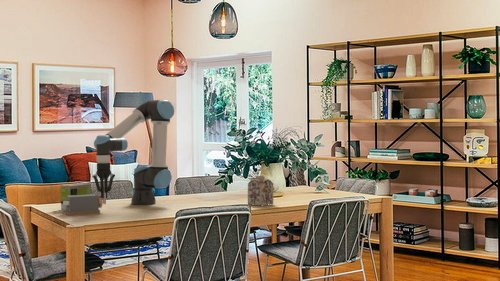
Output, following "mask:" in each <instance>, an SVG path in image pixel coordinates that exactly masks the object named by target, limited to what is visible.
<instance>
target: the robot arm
mask: <svg viewBox="0 0 500 281" xmlns="http://www.w3.org/2000/svg"><path fill="white" fill-rule="evenodd" d="M174 115H175V107H174V105H173V103H172V102H171V101H169V100H166V99H152V100H151V99H150V100H147V101H145V102H143V103H141V104H140V105H139V106H137V107H135V108H134V110H132V113H131V114H130V115H128V116H127V117H126V118H125V119H123V120H122V121H121V122H119V124H117V125H116V126H115V127H113V128H112V129H111V130H109V131H108V132H107V133H106V134H104V135H103V134H102V135H97V136H96V137H95V140H93V146H94V149H96V172H95V174H93V175H92V178H93V180H94V183H95V186H96V187H95V188H96V189H97V192H99V193H100V195H101V196H102V201H103V204H102V205H106V204H107V199H108V193H109V192H111V190H112V187H113V181H114V178H115V177H116V174H115V173H114V174H113V173H112V171H111V163H110V162H111V152H123V151H127V149H128V145H129V144H128V140H127V138H125V136H126V135H127V134H128V133H130V132H131V131H132V130H133V129H135V128H136V127H137V126H138V125H139V124H143V123H144V122H146V121H148V120H150V123H151V124H152V125H153V126H152V144H151V145H152V146H151V149H152V151H151V163H150V165H148V166H139V167H135V168H134V170H133V194H132V196H131V200H130V201H131V202H130V204H131V205H135V206H136V205H138V206H140V205H141V206H143V205H144V206H145V205H146V206H147V205H155V204H156V203H157V202H156V200H157V199H156V197H155V194H154V189H157V190H158V189H160V190H161V189H165V188H168V186H169V185H170V184H171V182H172V173H171V171H170V170H169V166H168V164H167V140H168V125H169V124H170V123H171V119H172V118H173V116H174ZM98 179H99V180H98ZM99 182H100V183H99Z"/></svg>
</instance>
